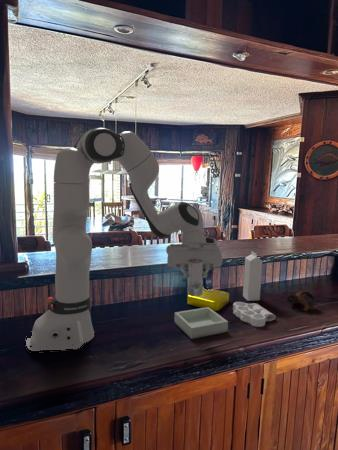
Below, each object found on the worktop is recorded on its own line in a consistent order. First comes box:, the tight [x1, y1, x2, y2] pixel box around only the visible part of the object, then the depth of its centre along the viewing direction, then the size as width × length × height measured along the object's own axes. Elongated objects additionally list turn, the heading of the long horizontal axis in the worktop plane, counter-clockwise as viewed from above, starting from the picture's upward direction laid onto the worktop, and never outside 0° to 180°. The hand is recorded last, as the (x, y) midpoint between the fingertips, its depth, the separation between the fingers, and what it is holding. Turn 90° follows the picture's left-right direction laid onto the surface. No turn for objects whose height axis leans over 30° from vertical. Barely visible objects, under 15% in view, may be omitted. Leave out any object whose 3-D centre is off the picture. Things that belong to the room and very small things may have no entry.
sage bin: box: [174, 307, 229, 340], centre depth 125 cm, size 15×14×4 cm
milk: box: [242, 250, 263, 302], centre depth 155 cm, size 6×6×22 cm
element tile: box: [186, 286, 230, 312], centre depth 150 cm, size 15×15×5 cm
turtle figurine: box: [285, 290, 316, 312], centre depth 147 cm, size 12×10×8 cm
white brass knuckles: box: [232, 301, 277, 328], centre depth 136 cm, size 3×18×15 cm
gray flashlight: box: [187, 258, 204, 296], centre depth 120 cm, size 6×6×13 cm
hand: (195, 277), depth 119 cm, fingers closed on gray flashlight, 5 cm apart
